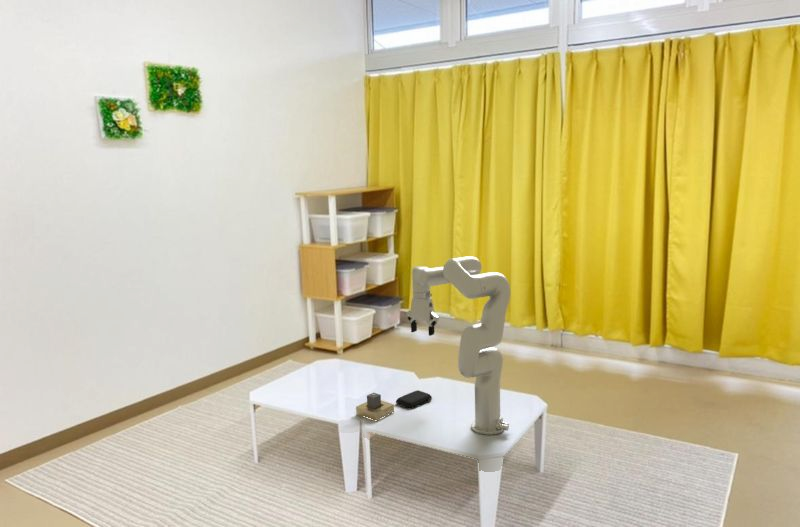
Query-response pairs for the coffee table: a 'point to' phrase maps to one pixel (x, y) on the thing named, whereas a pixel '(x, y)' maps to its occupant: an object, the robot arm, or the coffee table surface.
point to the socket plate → (375, 410)
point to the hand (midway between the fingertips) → (422, 333)
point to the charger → (374, 400)
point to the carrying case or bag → (413, 399)
